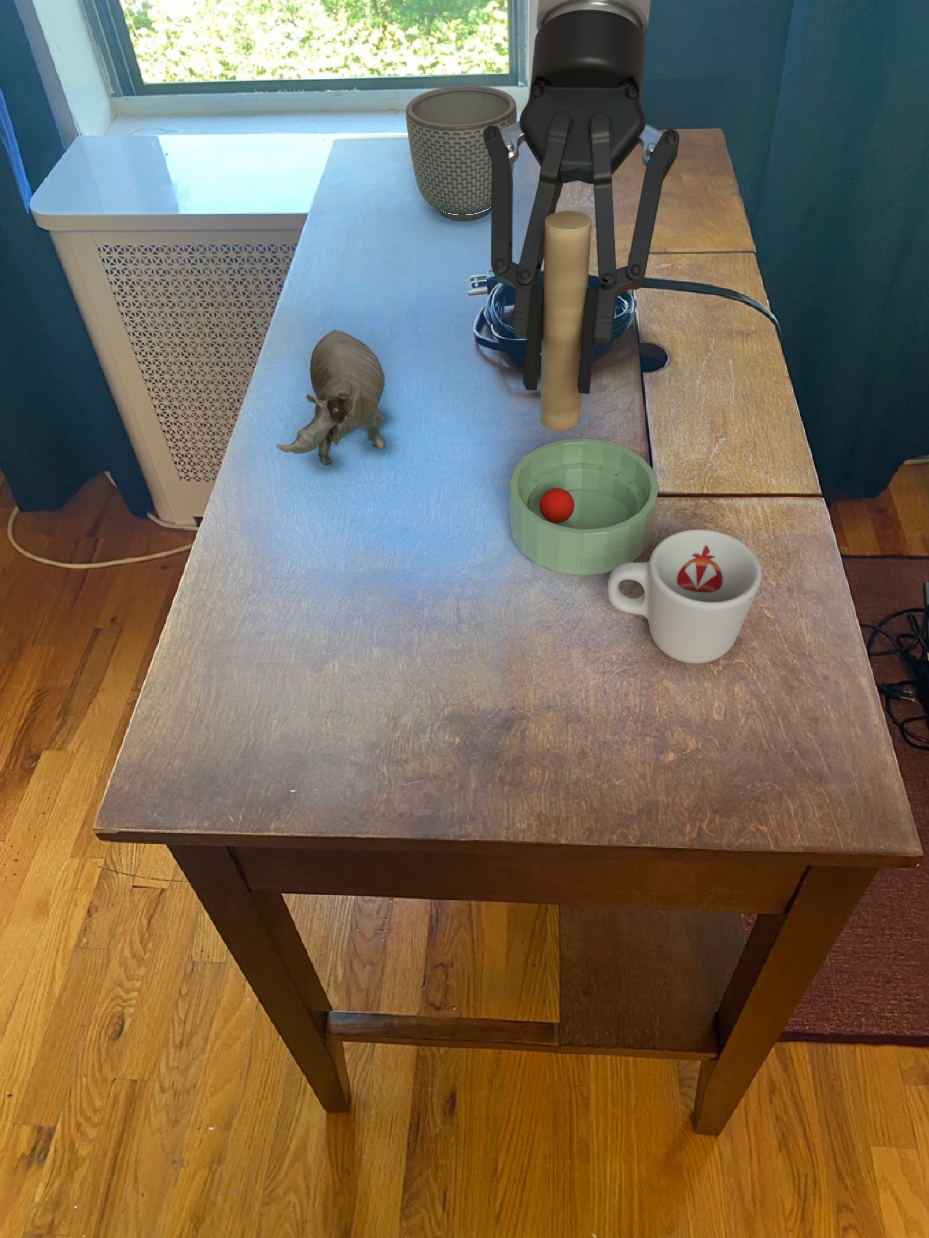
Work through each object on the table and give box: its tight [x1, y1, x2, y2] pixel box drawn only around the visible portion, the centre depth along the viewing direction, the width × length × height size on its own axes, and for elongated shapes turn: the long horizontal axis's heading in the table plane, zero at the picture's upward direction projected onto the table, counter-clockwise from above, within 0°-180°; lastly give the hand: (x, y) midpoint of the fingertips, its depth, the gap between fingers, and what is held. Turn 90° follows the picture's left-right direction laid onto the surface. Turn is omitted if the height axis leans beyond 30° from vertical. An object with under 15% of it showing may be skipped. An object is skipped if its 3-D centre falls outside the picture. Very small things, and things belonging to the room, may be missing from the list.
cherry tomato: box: [540, 488, 574, 523], centre depth 79 cm, size 3×3×3 cm
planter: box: [405, 85, 518, 222], centre depth 118 cm, size 14×14×13 cm
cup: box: [607, 528, 763, 664], centre depth 69 cm, size 11×8×8 cm
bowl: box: [509, 437, 660, 577], centre depth 78 cm, size 12×12×6 cm
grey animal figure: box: [276, 329, 386, 466], centre depth 88 cm, size 8×14×15 cm
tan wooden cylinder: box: [539, 210, 593, 432], centre depth 64 cm, size 3×3×15 cm
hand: (556, 387), depth 63 cm, fingers closed on tan wooden cylinder, 3 cm apart
